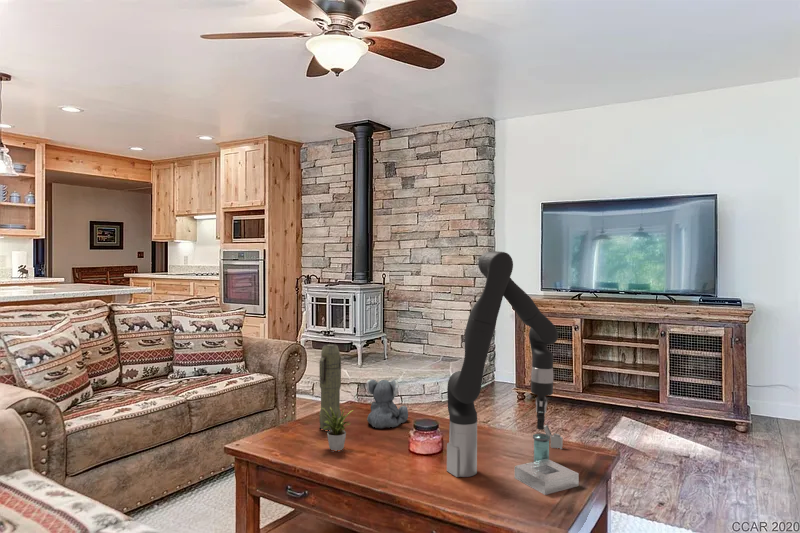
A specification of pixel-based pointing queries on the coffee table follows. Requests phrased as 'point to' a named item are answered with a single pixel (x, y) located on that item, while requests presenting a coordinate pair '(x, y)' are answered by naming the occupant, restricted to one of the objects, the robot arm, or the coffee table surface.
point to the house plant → (336, 431)
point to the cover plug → (541, 446)
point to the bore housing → (546, 476)
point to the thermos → (330, 383)
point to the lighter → (554, 438)
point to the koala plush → (385, 404)
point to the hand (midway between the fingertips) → (540, 425)
